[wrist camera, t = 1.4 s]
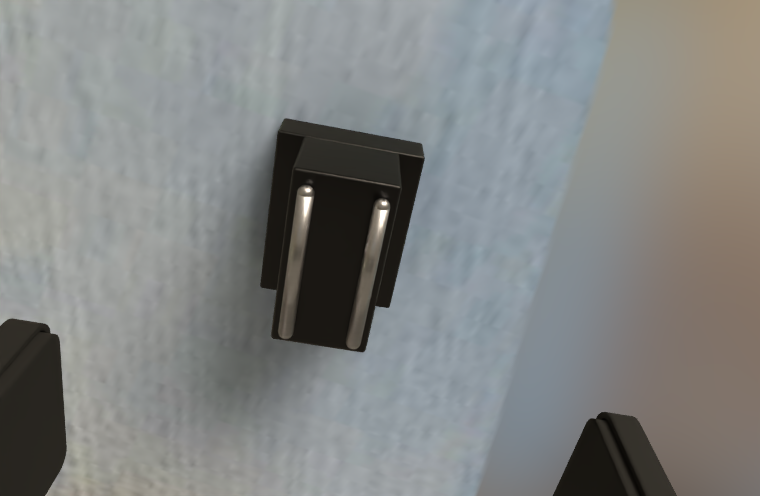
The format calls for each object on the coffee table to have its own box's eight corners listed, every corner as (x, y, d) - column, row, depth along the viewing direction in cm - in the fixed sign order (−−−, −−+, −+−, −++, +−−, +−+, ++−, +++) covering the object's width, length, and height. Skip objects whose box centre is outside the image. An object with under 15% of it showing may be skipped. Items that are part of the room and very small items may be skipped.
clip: (284, 117, 17) (259, 168, 14) (422, 142, 18) (432, 198, 14) (266, 268, 20) (240, 344, 16) (388, 288, 20) (390, 367, 16)
